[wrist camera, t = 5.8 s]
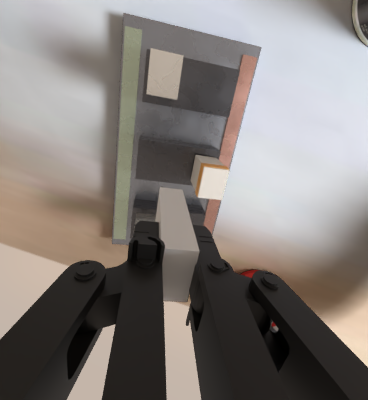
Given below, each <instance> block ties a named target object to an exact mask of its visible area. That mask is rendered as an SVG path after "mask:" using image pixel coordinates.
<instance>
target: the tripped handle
mask: <svg viewBox="0 0 368 400" xmlns="http://www.w3.org/2000/svg"><path fill="white" fill-rule="evenodd" d="M229 171H230V170H229V168H228V167H227V166H224V165H223V164H222V163H221V162H220V161H219V160H218V159H217V158H215V157H208V156H201V155H195V160H194V165H193V170H192V175H191V183H192V185H193V187H194V190H195V194H196V196H197V197H198V198H207V199H216V200H222V198H223V194H224V190H225V187H226V183H227V179H228V175H229Z"/></svg>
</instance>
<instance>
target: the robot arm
mask: <svg viewBox="0 0 368 400" xmlns="http://www.w3.org/2000/svg"><path fill="white" fill-rule="evenodd" d="M189 293H190V299H191V304H190V308H189V312H188V316H187V320H186V326H188V325H189V321H190V323H191V330H192V337H193V344H194V351H195V358H196V365H197V372H198V379H199V386H200V393H201V400H368V367H367V366H366V365H365V364H364V363H363V362H362V361H361V360H360V359H359V358H358V357H357V356H356V355H355V354H354V353H353V352H352V351H351V350H350V349H349V348H348V347H347V346H346V345H345V344H344V343H343V342H342V341H341V340H340V339H339V338H338V337H337V335H336V334H335V333H334V332H333V331H332V330H331V329H330V328H329V327H328V326H327V325H326V324H325V323H324V322H323V321H322V320H321V319H320V318H319V317H318V316H317V315H316V314H315V313H314V312H313V311H312V310H311V309H310V308H309V307H308V306H307V305H306V304H305V303H304V302H303V301H302V300H301V299H300V298H299V296H298V295H297V294H296V293H295V292H294V291H293V290H292V289H291V288H290V287H289V286H288V285H287V284H286V283H285V282H284V281H283V280H282V279H281V278H279V277H278V276H277V275H275V274H273V273H271V272H268V271H256V272H255V273H254V274H253V276H252V278H250V277H247V276H243V275H240V274H237V273H235V272H234V271H233V269H232V267H231V266H230V264H229V263H228V262H226V261H225V260H223V259H221V257H220V255H219V252H218V250H217V247H216V245H215V243H214V239H213V238H212V234H211V232H210V231H209V230H208V229H207V228H206V227H205V226H200V225H192V222H191V218H190V215H189V211H188V208H187V204H186V200H185V197H184V193H183V190H181V189H172V188H164V187H160V190H159V198H158V205H157V212H156V220H155V222H151V221H139V222H138V223H137V224H136V225H135V229H134V234H133V238H132V239H131V240H130V242H129V249H128V260H127V261H126V262H125V263H123V264H121V265H119V266H117V267H113V268H107V269H105V267H104V266H103V265H102V264H101V263H99V262H96V261H90V260H86V261H80V262H77V263H75V264H72V265H71V266H70V267H68V268H67V269H66V270H65V271H64V272H63V273H62V274H61V275H60V276H59V277H58V279H57V280H56V281H55V282H54V283H53V284H52V285H51V286H50V287H49V288H48V289H47V290H46V291H45V292H44V294H43V295H42V296H41V297H40V298H39V299H38V300H37V301H36V302H35V303H34V304H33V305H32V307H30V309H28V311H27V312H26V313H25V314H24V315H23V316H22V317H21V318H20V319H19V320H18V321H17V322H16V324H14V325H13V327H12V328H11V329H10V330H9V331H8V332H7V333H6V334H5V335H4V336H3V337H2V338H1V339H0V400H67V398H68V396H69V394H70V392H71V390H72V388H73V386H74V384H75V382H76V380H77V378H78V376H79V374H80V372H81V370H82V368H83V366H84V364H85V363H86V360H87V359H88V356H89V355H90V353H91V351H92V349H93V347H94V345H95V343H96V341H97V339H98V337H99V335H100V333H101V331H102V328H103V327H107V326H111V325H114V324H116V326H115V331H114V336H113V342H112V347H111V353H110V358H109V364H108V369H107V375H106V380H105V385H104V391H103V396H102V400H166V367H165V337H164V305H163V304H164V303H163V301H175V302H187V301H188V297H189ZM273 322H274V324H275V325H276V326H277V328H278V331H276V330H275V329H274V328H273V327H272V323H273Z"/></svg>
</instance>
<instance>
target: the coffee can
mask: <svg viewBox="0 0 368 400" xmlns="http://www.w3.org/2000/svg"><path fill="white" fill-rule="evenodd" d="M352 19H353V24H354V28H355V31H356V33H357V35H358V37H359V38H360V40H361V41H362V42H363V43H365V44H366V45H367V46H368V0H353V5H352Z"/></svg>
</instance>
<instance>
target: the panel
mask: <svg viewBox="0 0 368 400" xmlns="http://www.w3.org/2000/svg"><path fill="white" fill-rule="evenodd" d="M260 51H261V47H258V46H254V45H250V44H246V43H242V42H238V41H234V40H230V39H226V38H222V37H218V36H214V35H210V34H206V33H202V32H198V31H194V30H190V29H186V28H182V27H178V26H174V25H170V24H166V23H162V22H158V21H154V20H150V19H146V18H142V17H138V16H134V15H130V14H126V13H124V15H123V35H122V55H121V75H120V94H119V114H118V134H117V154H116V173H115V193H114V213H113V233H112V244H122V245H129V242H130V240H131V239H132V238H133V234H134V229H135V225H136V224H137V223H138V222H139V221H151V222H155V220H156V212H157V205H158V198H159V190H160V187H164V188H172V189H181V190H183V193H184V197H185V200H186V204H187V208H188V211H189V215H190V218H191V222H192V225H200V226H205V227H206V228H207V229H208V230H209V231H210V232H211V234H212V235H213V231H214V227H215V223H216V219H217V215H218V212H219V208H220V204H221V200H216V199H207V198H198V197H197V196H196V194H195V190H194V187H193V185H192V183H191V175H192V170H193V165H194V160H195V155H201V156H208V157H215V158H217V159H218V160H219V161H220V162H221V163H222V164H223V165H224V166H227V167H228V168H229V169H230V166H231V162H232V158H233V154H234V150H235V146H236V143H237V139H238V135H239V131H240V127H241V124H242V120H243V116H244V112H245V108H246V104H247V101H248V97H249V93H250V89H251V85H252V81H253V78H254V74H255V70H256V66H257V62H258V58H259V55H260Z"/></svg>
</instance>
